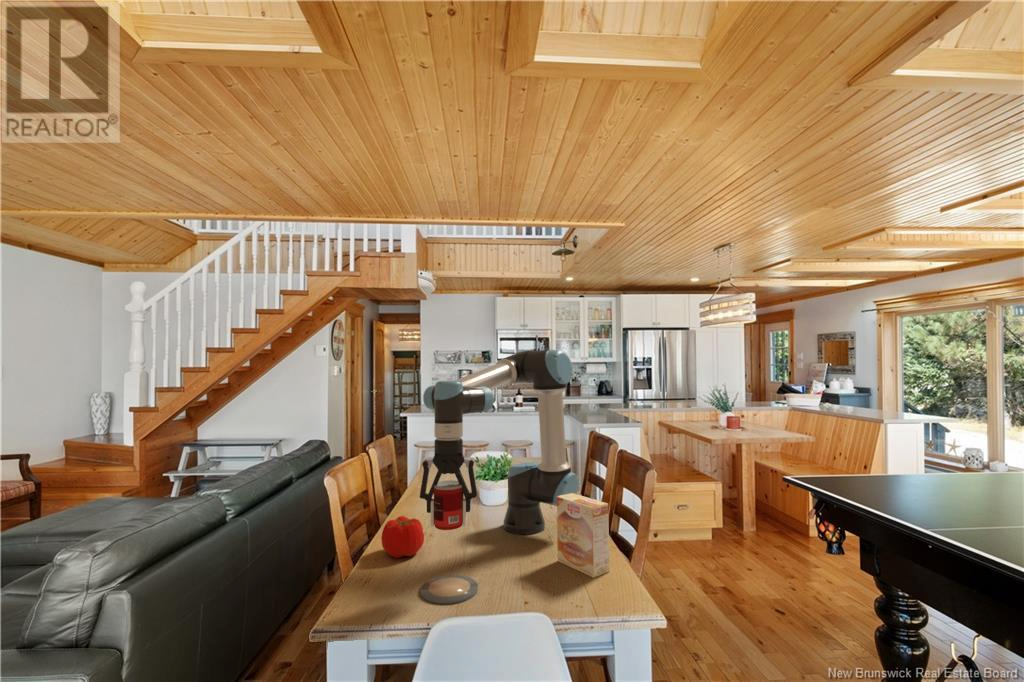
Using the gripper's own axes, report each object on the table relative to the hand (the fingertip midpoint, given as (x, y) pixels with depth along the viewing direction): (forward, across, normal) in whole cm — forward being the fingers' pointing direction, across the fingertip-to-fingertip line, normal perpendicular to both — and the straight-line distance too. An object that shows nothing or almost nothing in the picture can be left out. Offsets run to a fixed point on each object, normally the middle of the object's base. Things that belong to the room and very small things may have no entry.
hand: (448, 524), depth 128 cm
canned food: (0, 0, 0) cm, 0 cm away
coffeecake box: (+17, +38, +13) cm, 44 cm away
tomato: (+17, -17, +26) cm, 35 cm away
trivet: (+17, 0, 0) cm, 17 cm away
